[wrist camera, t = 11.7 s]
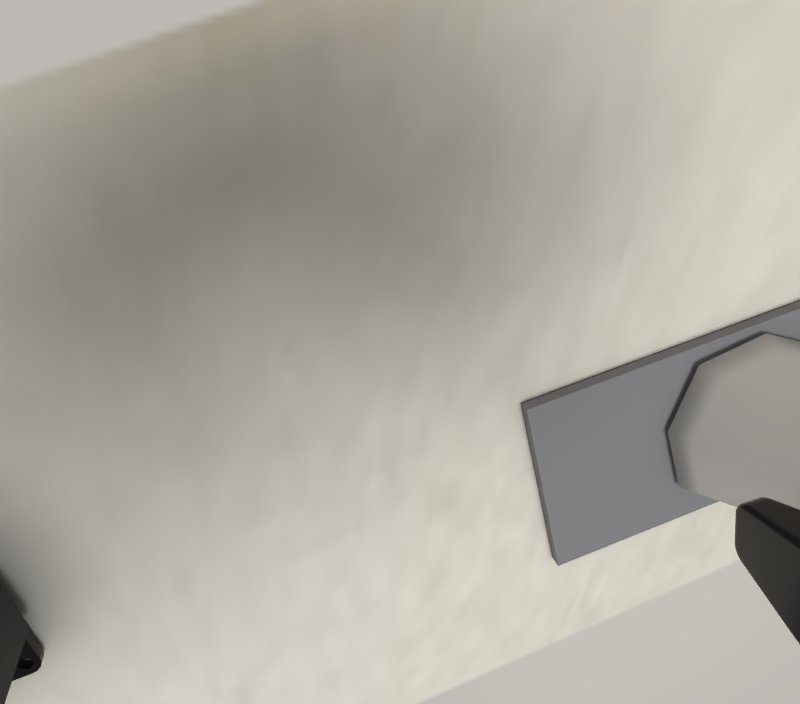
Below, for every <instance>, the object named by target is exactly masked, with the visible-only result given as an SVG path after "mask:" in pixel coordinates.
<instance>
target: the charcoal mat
mask: <svg viewBox="0 0 800 704" xmlns="http://www.w3.org/2000/svg"><path fill="white" fill-rule="evenodd" d="M764 334H771V335H775V336H779V337H784V338H788V339H792V340H796V341H800V301H797V302H794V303H792V304H789V305H786V306H784V307H781V308H778V309H776V310H773V311H770V312H767V313H765V314H762V315H759V316H757V317H754V318H751V319H748V320H746V321H743V322H740V323H738V324H735V325H732V326H730V327H727V328H724V329H721V330H719V331H716V332H713V333H711V334H708V335H705V336H703V337H700V338H697V339H694V340H692V341H689V342H686V343H684V344H681V345H678V346H675V347H673V348H670V349H667V350H665V351H662V352H659V353H657V354H654V355H651V356H648V357H646V358H643V359H640V360H638V361H635V362H632V363H629V364H627V365H624V366H621V367H619V368H616V369H613V370H611V371H608V372H605V373H602V374H600V375H597V376H594V377H592V378H589V379H586V380H584V381H581V382H578V383H575V384H573V385H570V386H567V387H565V388H562V389H559V390H556V391H554V392H551V393H548V394H546V395H543V396H540V397H538V398H535V399H532V400H529V401H527V402H524V403H521V405H522V410H523V415H524V419H525V424H526V429H527V434H528V439H529V444H530V449H531V454H532V458H533V463H534V468H535V473H536V478H537V483H538V488H539V493H540V497H541V502H542V507H543V512H544V517H545V522H546V527H547V532H548V536H549V541H550V546H551V551H552V556H553V559H554V560H555V562H556V563H557V565H558V566H559V565H562V564H564V563H567V562H569V561H572V560H574V559H577V558H579V557H581V556H584V555H586V554H589V553H591V552H594V551H596V550H599V549H601V548H604V547H606V546H609V545H611V544H614V543H616V542H619V541H621V540H624V539H626V538H629V537H631V536H634V535H636V534H639V533H641V532H644V531H646V530H649V529H651V528H654V527H656V526H659V525H661V524H664V523H666V522H669V521H671V520H673V519H676V518H678V517H681V516H683V515H686V514H688V513H691V512H693V511H696V510H698V509H701V508H703V507H706V506H708V505H711V504H713V503H716V502H718V500H715V499H712V498H709V497H706V496H703V495H700V494H697V493H695V492H692V491H689V490H687V489H684V488H681V487H679V485H678V480H677V475H676V470H675V466H674V461H673V456H672V451H671V446H670V441H669V436H668V430H669V428H670V426H671V424H672V422H673V420H674V417H675V415H676V413H677V411H678V409H679V407H680V405H681V402H682V400H683V398H684V396H685V394H686V392H687V390H688V387H689V385H690V383H691V381H692V379H693V377H694V375H695V372H696V370H697V368H698V366H699V365H700V364H702V363H704V362H706V361H709V360H711V359H713V358H715V357H717V356H719V355H721V354H723V353H726V352H728V351H730V350H732V349H734V348H736V347H738V346H741V345H743V344H745V343H747V342H749V341H751V340H753V339H755V338H758V337H760V336H762V335H764Z"/></svg>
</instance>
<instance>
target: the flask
mask: <svg viewBox="0 0 800 704" xmlns="http://www.w3.org/2000/svg"><path fill="white" fill-rule="evenodd" d="M668 436H669V441H670V446H671V451H672V456H673V461H674V466H675V470H676V475H677V480H678V485H679V487H681V488H684V489H687V490H689V491H692V492H695V493H697V494H700V495H703V496H706V497H709V498H712V499H715V500H718V501H721V502H724V503H727V504H730V505H733V506H736V507H738V506H739V505H740V504H742V503H744V502H747V501H750V500H753V499H756V498H759V497H766V498H770V499H773V500H776V501H778V502H781V503H784V504H786V505H789V506H792V507H795V508H797V509H800V341H796V340H792V339H788V338H784V337H779V336H775V335H771V334H764V335H762V336H760V337H758V338H755V339H753V340H751V341H749V342H747V343H745V344H743V345H741V346H738V347H736V348H734V349H732V350H730V351H728V352H726V353H723V354H721V355H719V356H717V357H715V358H713V359H711V360H709V361H706V362H704V363H702V364H700V365H699V366H698V368H697V370H696V372H695V375H694V377H693V379H692V381H691V383H690V385H689V387H688V390H687V392H686V394H685V396H684V398H683V400H682V402H681V405H680V407H679V409H678V411H677V413H676V415H675V417H674V420H673V422H672V424H671V426H670V428H669V430H668Z"/></svg>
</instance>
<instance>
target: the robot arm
mask: <svg viewBox="0 0 800 704" xmlns="http://www.w3.org/2000/svg"><path fill="white" fill-rule="evenodd" d="M735 547H736V551H737V554H738V556H739V558H740V560H741V561H742V563H743V564H744V566H745V567H746V569H747V570H748V571H749V573H750V574H751V576H752V577H753V578H754V580H755V581H756V583H757V584H758V586H759V587H760V589H761V590H762V591H763V593H764V594H765V596H766V597H767V599H768V600H769V601H770V603H771V604H772V606H773V607H774V609H775V610H776V611H777V613H778V614H779V616H780V617H781V618H782V620H783V621H784V623H785V624H786V626H787V627H788V628H789V630H790V631H791V633H792V634H793V636H794V637H795V638H796V639H797V641H798V642H799V644H800V509H797V508H795V507H792V506H789V505H786V504H784V503H781V502H778V501H776V500H773V499H770V498H766V497H759V498H756V499H753V500H750V501H747V502H744V503H742V504H740V505H739V506H738V507H737V509H736V523H735ZM43 657H44V651H43V649H42V647H41V646H40V645H39V643H38V642H37V641H36V639H35V638H34V637H33V635H32V634H31V633H30V631H29V625H28V624H27V622H26V621H25V620H24V618H23V617H22V615H21V614H20V613H19V611H18V610H17V609H16V607H15V606H14V605H13V603H12V602H11V600H10V599H9V598H8V596H7V595H6V594H5V592H4V591H3V590H2V588H1V587H0V704H4V703H5V700H6V697H7V694H8V691H9V688H10V685H11V682H12V681H13V680H16V679H19V678H21V677H24V676H26V675H29V674H32V673H34V672H35V671H37V670H38V669H39V668H40V667H41V664H42V660H43ZM23 658H29V659H31V660H24V659H23Z"/></svg>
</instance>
